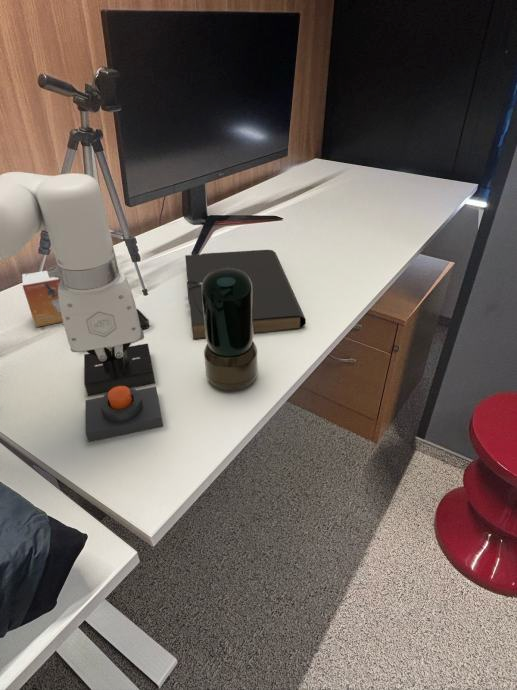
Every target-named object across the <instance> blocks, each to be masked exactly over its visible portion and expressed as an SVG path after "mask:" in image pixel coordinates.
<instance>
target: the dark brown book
mask: <svg viewBox="0 0 517 690" xmlns="http://www.w3.org/2000/svg"><path fill="white" fill-rule="evenodd" d="M184 259H185V267H186V268H185V269H186V280H187V282H186V286H187V299H188V304H189V312H190V321H191V332H192V339H193V340H197V339H198V340H199V339H200V340H201V339H206V335H205V325H204V314H203V303H202V292H201V286H202V282H203V280H204V278H205V277H206V276H207V275H208V274H209V273H210V272H212V271H213V270H216V269H219V268H224V267H231V268H236V269H239V270H241V271H243V272H244V273H246V274H247V275H248V277H249V278H250V280H251V282H252V286H253V326H254V334H263V333H273V332H282V331H283V332H285V331H295V330H300V329H301V328H303V327H304V326H305V325H306V324H307V323H306V322H307V321H306V320H307V319H306V316H305V315H304V313H303V310H302V308H301V306H300V303H299V302H298V299H297V297H296V294H295V292H294V290H293V288H292V286H291V284H290V281H289V279H288V277H287V275H286V273H285V270H284V267H283V266H282V264H281V261H280V259H279V257H278V254H277V252H276V251H274V250H273V249H258V250H257V249H256V250H241V251H240V250H239V251H225V252H224V251H222V252H211V253H210V252H207V253H206V252H205V253H200V254H185V257H184Z"/></svg>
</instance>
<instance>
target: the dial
mask: <svg viewBox="0 0 517 690" xmlns="http://www.w3.org/2000/svg"><path fill="white" fill-rule="evenodd" d="M113 347H114V346H110V347H106V348H107V349H109V351H111V353H112V348H113ZM123 360H124V365H127V363H128V361H129V359H128V355H127V350H126V351H125V352H124V353H123Z"/></svg>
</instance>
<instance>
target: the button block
mask: <svg viewBox="0 0 517 690" xmlns="http://www.w3.org/2000/svg"><path fill="white" fill-rule="evenodd" d="M129 389H130V392H131V397H132V403H131V404H130V405H129V406H128V407H126V408H123V409H113V408H112V407H111V406H110V403H109V399H108V393H104V395H103V396H101V397H95V398H90V399H85V401H84V402H85V403H84V404H85V405H84V406H85V407H84V408H85V411H84V412H85V435H86V439H87V442H88V443H92V442H97V441H103V440H106V439H111V438H115V437H120V436H124V435H129V434H130V435H131V434H134V433H138V432H144V431H148V430H153V429H157V428H162V427H164V422H163V416H162V412H161V411H162V410H161V406H160V400H159V396H158V395H159V394H158V391H157V390H158V389H157V386H152V387H146V388H141V389H135V388H129Z"/></svg>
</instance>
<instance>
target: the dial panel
mask: <svg viewBox="0 0 517 690" xmlns="http://www.w3.org/2000/svg"><path fill="white" fill-rule="evenodd" d="M126 350H127V355H128V359H129V361H128V363H127V365H125V371H121V372H122V379H117V376H116V379H115V380H114V381H112V380H111V376H110V373H109V374H106V373H105V370H104V366H103V363H102V361H100V360H99V358H98V357H96V356H94V355H92V354H90V353H85V354H84V355H83V356H84V357H83V378H84V379H83V381H84V382H83V383H84V387H85V390H86V394H87V397H91V396H97V395H102V394H107V393H108V392H109V391H110V390H111V389H112V388H114V387H117V386H126V387H128V388H133V389H135V388H138V387H143V386H149V385H153V384H154V385H155V384H156V380H155V379H156V378H155V373H154V368H153V363H152V358H151V353H150V346H149V343H141V344H136V345H130V346H129V347H128V348H127V349H126Z"/></svg>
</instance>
